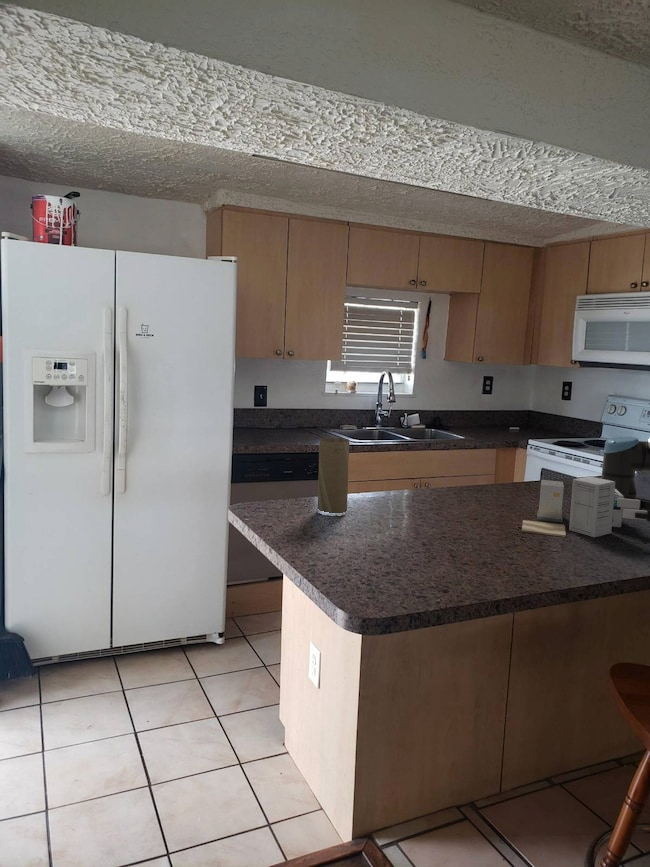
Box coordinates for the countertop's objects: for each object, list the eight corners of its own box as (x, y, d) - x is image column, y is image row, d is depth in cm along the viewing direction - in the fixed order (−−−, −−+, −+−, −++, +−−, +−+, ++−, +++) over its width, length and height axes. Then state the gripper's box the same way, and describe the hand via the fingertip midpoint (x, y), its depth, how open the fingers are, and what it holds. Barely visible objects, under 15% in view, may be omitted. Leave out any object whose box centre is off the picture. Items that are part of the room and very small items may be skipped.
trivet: (522, 521, 216) (522, 520, 216) (564, 526, 212) (564, 524, 212) (521, 531, 205) (521, 530, 205) (565, 536, 201) (565, 535, 201)
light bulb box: (621, 528, 213) (624, 495, 211) (599, 526, 214) (602, 494, 212) (614, 519, 223) (617, 488, 221) (593, 517, 224) (596, 486, 223)
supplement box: (612, 533, 206) (617, 481, 203) (594, 538, 201) (599, 484, 198) (585, 525, 214) (589, 475, 211) (567, 529, 209) (572, 478, 206)
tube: (341, 507, 227) (343, 437, 223) (351, 515, 218) (353, 441, 214) (313, 509, 224) (315, 437, 220) (322, 517, 215) (324, 442, 211)
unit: (537, 512, 228) (539, 479, 226) (561, 515, 225) (564, 481, 223) (537, 519, 219) (539, 484, 217) (562, 522, 217) (565, 487, 215)
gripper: (705, 539, 186) (623, 530, 192) (686, 516, 209) (614, 509, 216) (708, 513, 185) (626, 505, 191) (688, 493, 208) (616, 487, 214)
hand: (619, 507), depth 203 cm, fingers open, 13 cm apart
